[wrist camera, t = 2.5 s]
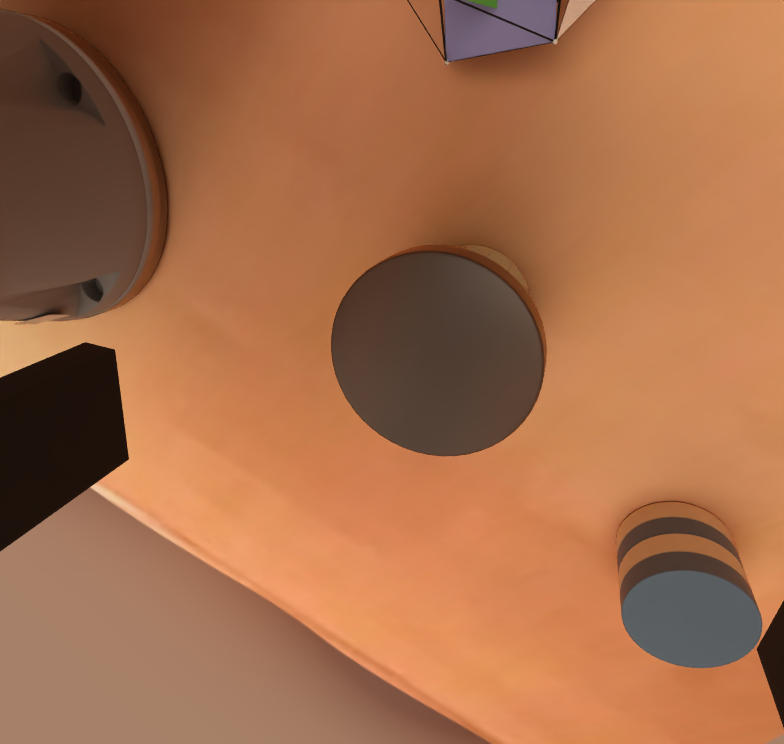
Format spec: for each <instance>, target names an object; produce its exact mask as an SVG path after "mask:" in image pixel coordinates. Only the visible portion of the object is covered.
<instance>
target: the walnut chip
mask: <svg viewBox="0 0 784 744" xmlns="http://www.w3.org/2000/svg"><path fill="white" fill-rule="evenodd" d="M331 352H332V361H333V366H334V370H335V374H336V377H337V380H338V382H339V385H340V387H341V389H342V391H343V393H344V395H345V397H346V399H347V400H348V402H349V403H350V405H351V406H352V408H353V409H354V410H355V412H356V413H357V414H358V415H359V416H360V418H361V419H362V420H363V421H364V422H365V423H367V424H368V425H369V426H370V427H371V428H372V429H373V430H375V431H376V432H377V433H378V434H380V435H381V436H383V437H384V438H386V439H388V440H389V441H391V442H393V443H395V444H397V445H399V446H401V447H403V448H406V449H409V450H412V451H415V452H419V453H423V454H428V455H436V456H458V455H466V454H471V453H474V452H478V451H481V450H484V449H486V448H489V447H491V446H493V445H495V444H497V443H499V442H500V441H502V440H504V439H505V438H506V437H508V436H509V435H510V434H512V433H513V432H514V431H515V430H516V429H517V428H518V427H519V426H520V425H521V424H522V423H523V422H524V421H525V419H526V418H527V416H528V415H529V414H530V412H531V411H532V409H533V407H534V405H535V403H536V401H537V399H538V396H539V393H540V390H541V387H542V383H543V377H544V372H545V366H546V354H547V346H546V337H545V331H544V327H543V323H542V320H541V318H540V315H539V313H538V310H537V308H536V306H535V304H534V302H533V301H532V299H531V297H530V295H529V294H528V293H527V291H526V290H525V289H524V287H523V286H522V285H521V284H520V282H519V281H518V280H517V279H516V278H514V277H513V276H512V275H511V274H510V273H509V272H508V271H507V270H505V269H504V268H503V267H502V266H500V265H499V264H498V263H496V262H494V261H492V260H491V259H489V258H487V257H485V256H483V255H481V254H478V253H476V252H473V251H471V250H467V249H463V248H459V247H454V246H446V245H426V246H419V247H413V248H410V249H407V250H403V251H400V252H398V253H396V254H394V255H392V256H389V257H388V258H386V259H384V260H383V261H381V262H379V263H378V264H376V265H375V266H373V267H372V268H370V269H368V270H367V271H366V272H365V273H364V274H362V275H361V276H360V277H359V278H358V279H357V280H356V281H355V282H354V284H353V285H352V286H351V287H350V288H349V290H348V291H347V293H346V294H345V296H344V297H343V299H342V301H341V303H340V305H339V308H338V310H337V312H336V316H335V319H334V323H333V329H332V336H331Z"/></svg>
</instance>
